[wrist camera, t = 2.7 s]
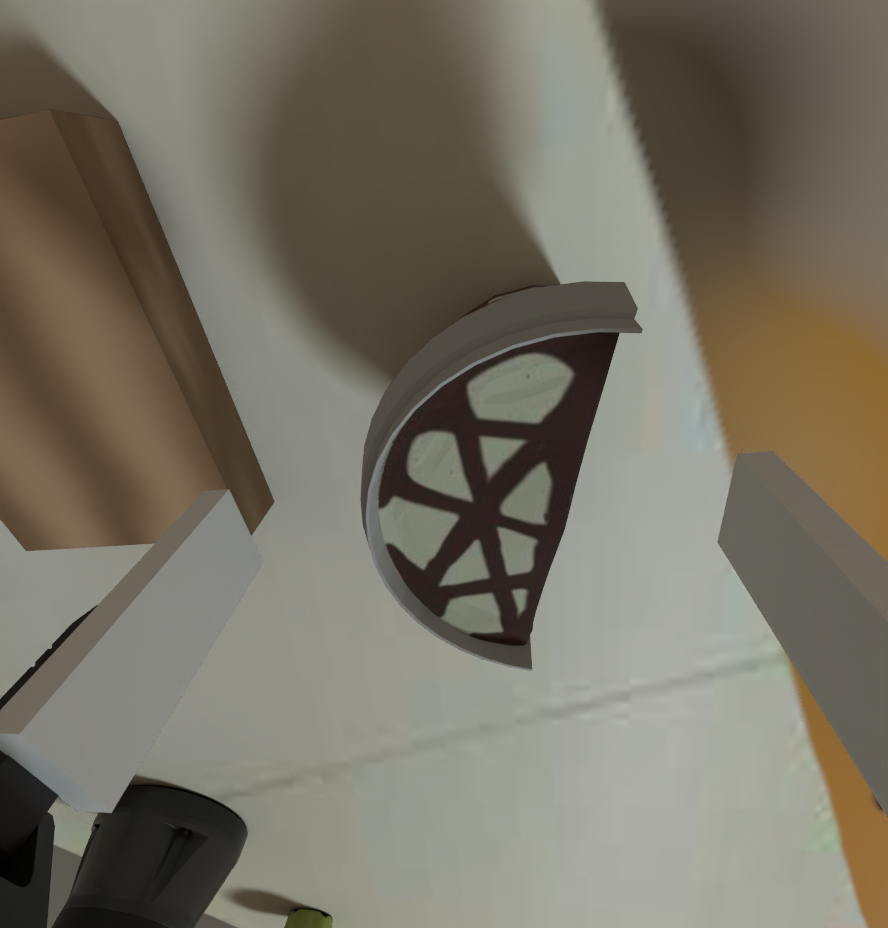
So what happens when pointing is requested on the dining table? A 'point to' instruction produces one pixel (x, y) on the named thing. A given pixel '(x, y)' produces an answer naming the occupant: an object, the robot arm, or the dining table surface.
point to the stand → (102, 352)
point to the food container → (488, 460)
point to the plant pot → (308, 919)
